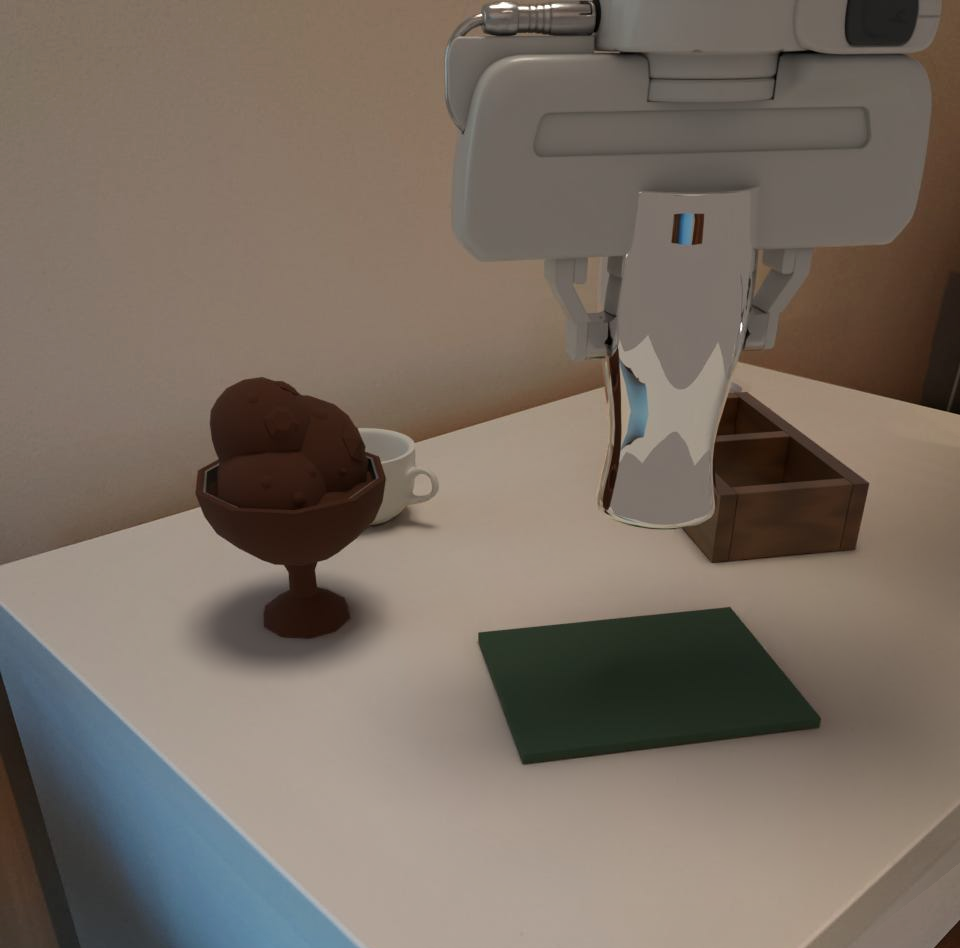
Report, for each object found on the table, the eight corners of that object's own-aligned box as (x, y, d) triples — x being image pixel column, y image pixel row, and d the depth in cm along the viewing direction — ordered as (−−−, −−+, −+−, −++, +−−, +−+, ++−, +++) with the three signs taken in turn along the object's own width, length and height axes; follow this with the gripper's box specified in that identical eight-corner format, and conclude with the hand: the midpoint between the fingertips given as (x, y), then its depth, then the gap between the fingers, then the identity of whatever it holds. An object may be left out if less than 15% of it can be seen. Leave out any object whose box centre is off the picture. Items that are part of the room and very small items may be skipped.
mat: (729, 614, 62) (730, 606, 62) (819, 727, 52) (821, 718, 52) (478, 640, 60) (478, 632, 60) (522, 764, 50) (523, 754, 50)
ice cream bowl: (295, 684, 56) (264, 426, 48) (183, 616, 62) (139, 380, 55) (429, 613, 63) (420, 377, 55) (315, 559, 69) (293, 341, 61)
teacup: (294, 524, 74) (287, 455, 71) (346, 487, 80) (341, 422, 77) (415, 548, 70) (412, 476, 68) (460, 507, 76) (459, 440, 74)
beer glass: (561, 512, 50) (573, 185, 42) (626, 468, 55) (648, 168, 47) (689, 547, 46) (729, 198, 39) (747, 497, 51) (792, 178, 43)
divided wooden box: (739, 447, 87) (747, 391, 84) (855, 549, 70) (869, 483, 68) (621, 456, 85) (626, 399, 83) (711, 562, 69) (720, 495, 66)
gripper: (457, -1, 35) (462, 386, 42) (983, -2, 38) (904, 358, 45) (430, 2, 40) (439, 346, 48) (895, 1, 44) (837, 324, 51)
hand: (670, 352), depth 47 cm, fingers closed on beer glass, 7 cm apart
